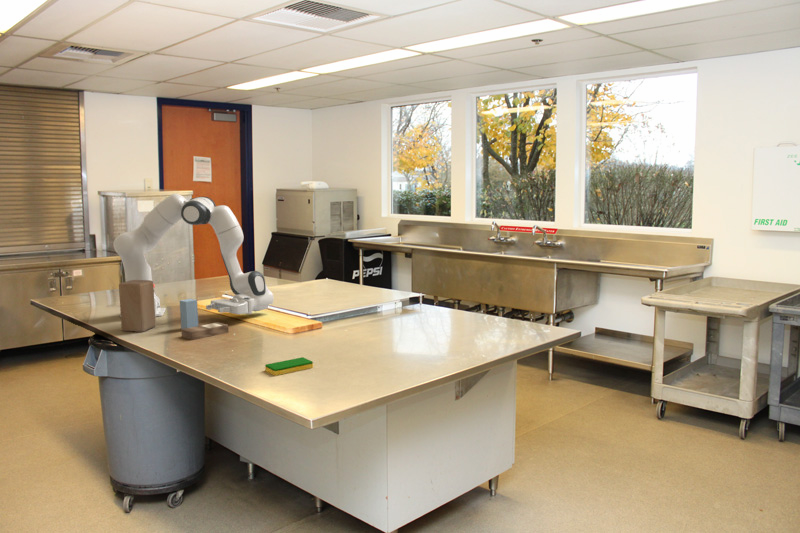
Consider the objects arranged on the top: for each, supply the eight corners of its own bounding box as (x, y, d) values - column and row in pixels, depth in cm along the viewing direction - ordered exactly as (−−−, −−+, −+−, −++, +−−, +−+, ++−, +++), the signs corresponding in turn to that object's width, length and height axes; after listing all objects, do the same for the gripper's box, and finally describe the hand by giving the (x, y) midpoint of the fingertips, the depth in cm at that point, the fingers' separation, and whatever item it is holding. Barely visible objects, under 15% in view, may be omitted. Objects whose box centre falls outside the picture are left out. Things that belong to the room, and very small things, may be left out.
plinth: (217, 329, 263) (217, 322, 263) (228, 332, 258) (228, 324, 258) (181, 336, 252) (181, 329, 251) (192, 340, 246) (192, 332, 246)
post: (192, 326, 269) (190, 298, 267) (198, 328, 265) (197, 300, 264) (181, 328, 265) (179, 300, 263) (187, 330, 262) (185, 301, 260)
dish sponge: (313, 368, 209) (313, 361, 208) (274, 377, 201) (274, 369, 200) (303, 363, 214) (302, 356, 214) (264, 371, 206) (264, 364, 206)
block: (142, 332, 259) (139, 284, 257) (120, 331, 261) (117, 283, 259) (156, 327, 269) (153, 280, 266) (135, 326, 271) (132, 279, 268)
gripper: (226, 294, 289) (199, 298, 279) (253, 299, 276) (225, 304, 266) (227, 308, 290) (200, 313, 280) (254, 314, 277) (226, 319, 267)
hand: (212, 309), depth 273 cm, fingers open, 8 cm apart
